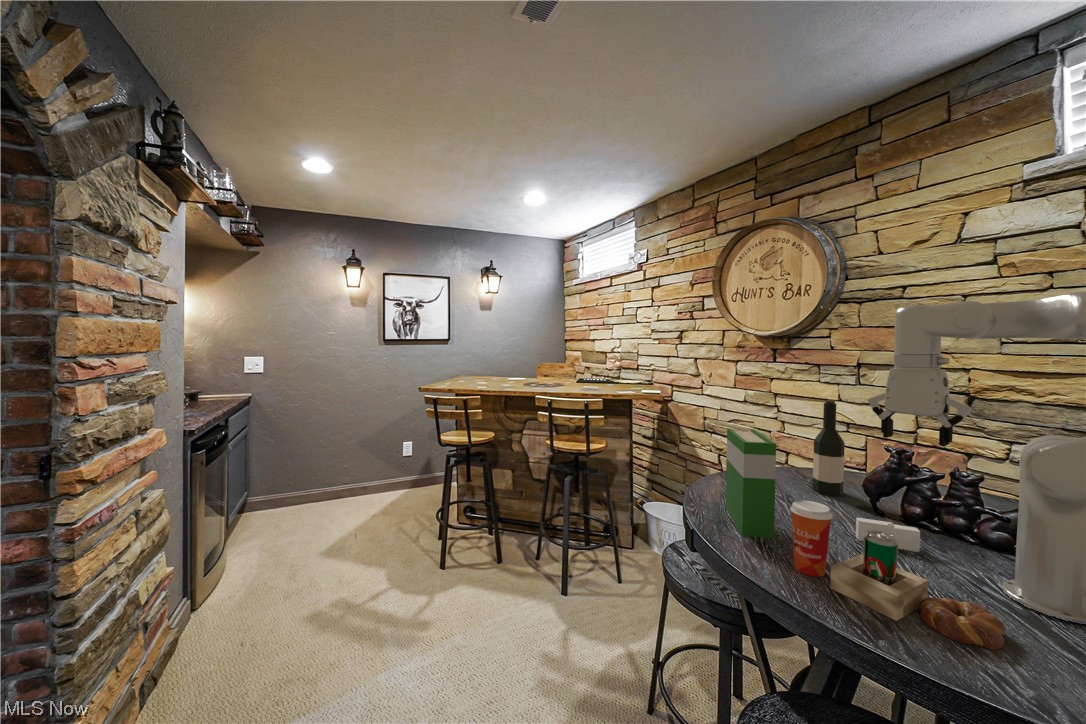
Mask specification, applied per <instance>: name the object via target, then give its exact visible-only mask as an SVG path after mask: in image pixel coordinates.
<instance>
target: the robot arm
mask: <svg viewBox="0 0 1086 724" xmlns="http://www.w3.org/2000/svg"><path fill="white" fill-rule="evenodd" d="M942 338H953V339H963V340H975V339H980V340H981V339H983V340H984V339H985V340H986V339H1028V338H1029V339H1053V340H1086V291H1085V290H1084V291H1077V292H1070V293H1064V294H1060V295H1054V296H1049V297H1045V298H1037V299H1036V298H1035V299H1030V300H1028V299H1027V300H1017V301H1016V300H1015V301H1005V302H1004V301H1003V302H1002V301H1001V302H986V303H984V302H980V301H976V300H975V301H974V300H964V301H958V302H952V303H951V302H950V303H946V304H945V303H944V304H938V305H933V304H931V305H930V304H924V305H923V304H921V305H920V304H918V305H906V306H902V307H899V308H898V309H897V310H896V311H895V314H894V345H893V346H894V350H893V354H894V355H893V368H890V369H889V372H888V375H887V376H888V377H887V380H886V386H885V392H884V393H882V394H879V395H876V396H873V397H870V398H868V399H867V402H868V404H869V406H870V408H871V409H872V412H874V413H875V414H876V416H877V417H878V419H879V420H880V421H881V424H880V427H881V428H880V431H881V432H880V433H882V437H883V438H886V439H888V438H891V437H893V436H894V420H893V418H892V417H893V416H894V415H895V414H902V415H903V414H904V415H912V416H922V417H933V418H935V419H936V420H938V422H939V423H940V424H941V426H939V431H938V433H939V434H938V445H939V446H941V447H946V446H949V445H950V443H953V434H954V433H953V428H954V426H956V425H957V424H959V423H961V422H963V421H964V420H965V419H966V418H967V416H968V415H969V414H970V412H971V411H972V407H971V406H969V405H967V404H965V403H963V402H960V401H959V400H956V399H954V398H952V397H951V394H950V392H951V391H950V385H949V379H948V373H947V370H946V369H941V367H942V366H943V365H949V364H950V358H949V357H944V356H943V355H942V354H941V353H942V351H941V349H942V347H941V346H942ZM882 401H884V408H885V410H884V409H883V408H882V407H881V406H880V402H882ZM951 407H952V408H954V409H956V410H957V411H958V412H957V413H956V414H955V415H954V416H952V417H951V416H950V415H949V414H950V412H951ZM1018 491H1019V492H1018V497H1019V498H1018V512H1017V513H1018V514H1017V524H1016V526H1017V528H1016V529H1017V530H1016V545H1015V546H1016V547H1015V548H1016V549H1015V567H1014V568H1015V569H1014V579H1008V580H1005V581H1003V582H1002V588H1001V589H1002V591H1003V593H1004V594H1005V595H1006V594H1007V595H1008V596H1009V597H1008V596H1007V595H1006V596H1007V597H1008V598H1009V599H1011V598H1012V599H1013V601H1014V600H1015V601H1017V602H1019V603H1021V604H1023V605H1025V606H1027V607H1030V608H1032V609H1034V610H1037V611H1039V612H1042V613H1044V614H1047V615H1050V616H1055V617H1061V618H1066V619H1070V620H1075V621H1082V622H1086V436H1082V437H1079V438H1074V437H1071V436H1067V435H1060V434H1059V435H1058V434H1051V435H1050V434H1048V435H1043V436H1039V437H1036V438H1034V439H1032V440H1030V441H1028V442H1027V443H1026V444H1025V445H1024V446H1023V448H1022V450H1021V452H1020V456H1019V490H1018ZM1012 599H1011V600H1012ZM1015 601H1014V602H1015ZM1017 602H1016V603H1017ZM1019 603H1018V604H1019ZM1021 604H1020V605H1021ZM1023 605H1022V606H1023ZM1025 606H1024V607H1025ZM1027 607H1026V608H1027ZM1034 610H1033V611H1034ZM1039 612H1038V613H1039ZM1044 614H1043V615H1044ZM1047 615H1046V616H1047Z"/></svg>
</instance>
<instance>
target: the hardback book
mask: <svg viewBox="0 0 1086 724" xmlns="http://www.w3.org/2000/svg"><path fill="white" fill-rule="evenodd" d="M725 463H726V464H725V467H726V469H725V472H726V473H725V474H726V475H725V510H726V512H727V511H728V512H727V514H728V513H729V514H728V515H729V517H730V516H731V517H730V518H731V520H732V522H733V521H734V522H733V523H734V525H735V527H736V528H737V530H738V531H739V533H740V534H741V536H742V537H752V538H766V539H775V517H776V515H775V506H776V472H777V470H776V467H777V443H776V442H775V441H773V440H772V439H770V438H769V437H767V436H766V435H764V434H762V433H761V432H760V431H758V430H756V429H755V428H750V431H744V430H743V431H742V430H741V431H738V430H737V431H736V430H733V429H732V428H730V427H726V462H725Z"/></svg>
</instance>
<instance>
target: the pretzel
mask: <svg viewBox="0 0 1086 724" xmlns="http://www.w3.org/2000/svg"><path fill="white" fill-rule="evenodd" d="M919 615H920V617H921V619H922V620H923V621H924V622H925V623H926V624H927V625H928V626H930V627H931V628H932V629H934V630H936V631H937V632H938V633H940V634H941V635H943V636H945V637H947V638H949V639H951V640H952V641H953V640H954V641H955V642H958V643H961V644H964V643H966V644H965V645H970V644H975V645H974V646H980V645H981V646H980V647H982V648H984V647H985V649H987V648H989V649H988V650H999V649H1001V648H1003V647H1004V644H1005V640H1004V637H1003V636H1005V635H1006V627H1005V624H1004V623H1003V622H1002V621H1001V620H1000V619H999V618H998V617H997V616H995V615H993V614H992V613H991V612H990V611H989V610H988V609H986V607H983V606H982V605H980V604H978V603H975V602H972V601H958V600H957V599H953V598H949V597H927V598H925V599H923V600H922V602H921V603H920V607H919Z"/></svg>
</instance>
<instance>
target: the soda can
mask: <svg viewBox="0 0 1086 724" xmlns="http://www.w3.org/2000/svg"><path fill="white" fill-rule="evenodd" d="M863 554H864V557H863V575H865V576H867V577H870V578H872V579H874V580H877V581H879V582H881V583H883V584H886V585H888V586H890V585H892V584H894V583H896V582H897V568H898V560H899V559H898V555H899V549H898V544H897V542H896V538H895V537H894V536H892V535H891V534H888V533H885V532H882V531H876V530H870V531H867V534H866V535H865V536H864V541H863Z"/></svg>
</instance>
